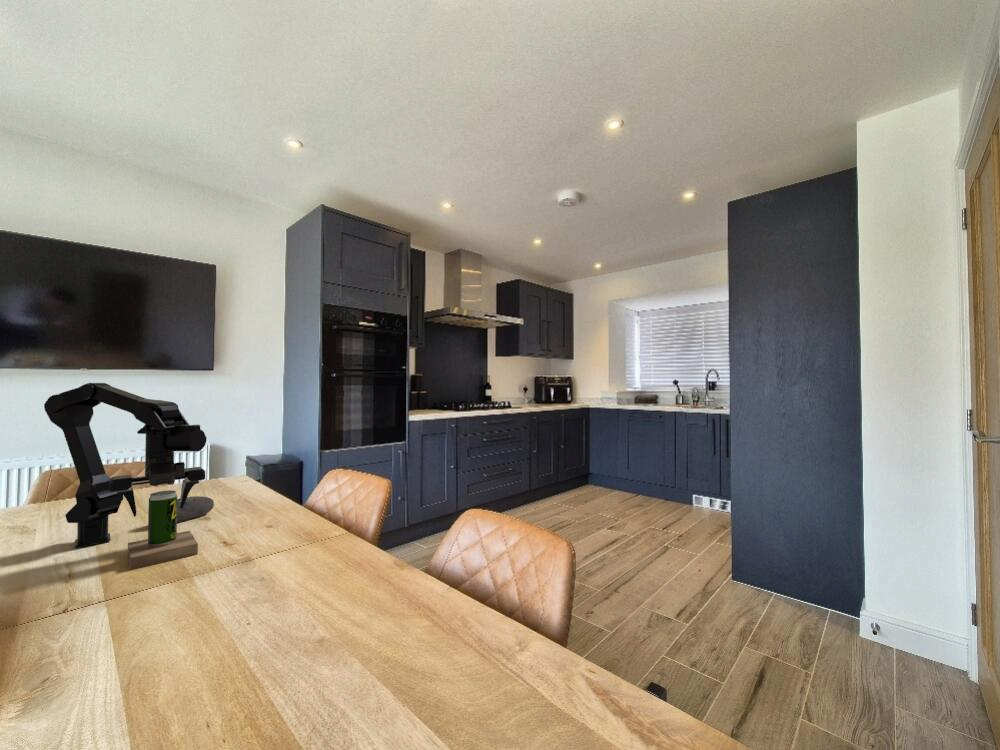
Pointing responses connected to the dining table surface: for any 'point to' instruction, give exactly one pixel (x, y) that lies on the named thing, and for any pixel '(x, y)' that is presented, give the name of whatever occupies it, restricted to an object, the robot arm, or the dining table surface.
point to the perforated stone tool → (194, 507)
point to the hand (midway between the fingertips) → (158, 512)
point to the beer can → (162, 518)
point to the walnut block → (161, 551)
